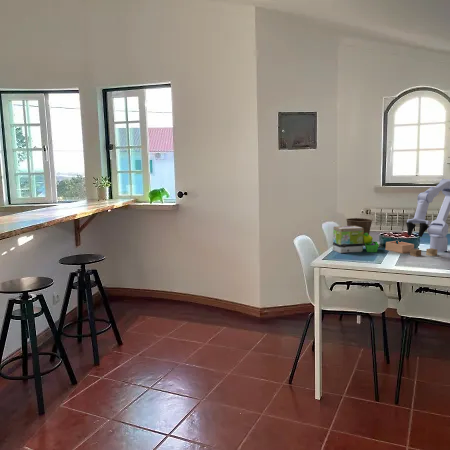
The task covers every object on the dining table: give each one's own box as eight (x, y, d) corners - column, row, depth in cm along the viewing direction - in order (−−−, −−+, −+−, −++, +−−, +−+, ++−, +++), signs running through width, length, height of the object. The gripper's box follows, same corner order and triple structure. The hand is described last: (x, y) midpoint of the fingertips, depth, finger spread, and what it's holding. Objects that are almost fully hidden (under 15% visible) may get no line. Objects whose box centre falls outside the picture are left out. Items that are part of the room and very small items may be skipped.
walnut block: (415, 255, 263) (415, 248, 262) (421, 257, 259) (421, 250, 259) (410, 256, 261) (410, 249, 261) (415, 257, 258) (416, 250, 257)
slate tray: (398, 248, 283) (398, 247, 283) (420, 253, 268) (421, 252, 268) (383, 250, 278) (383, 249, 278) (405, 255, 263) (405, 254, 263)
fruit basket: (379, 253, 269) (379, 234, 268) (363, 253, 271) (363, 234, 270) (376, 249, 280) (377, 231, 279) (361, 249, 282) (362, 231, 281)
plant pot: (368, 242, 306) (369, 217, 303) (374, 246, 290) (375, 221, 287) (343, 241, 307) (344, 217, 305) (347, 246, 291) (348, 221, 289)
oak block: (431, 255, 264) (431, 248, 263) (437, 256, 260) (437, 249, 260) (426, 255, 262) (426, 249, 262) (431, 257, 259) (432, 250, 258)
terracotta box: (397, 248, 281) (397, 240, 281) (413, 252, 270) (414, 244, 269) (385, 249, 278) (385, 242, 277) (402, 253, 266) (402, 245, 265)
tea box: (340, 253, 271) (341, 228, 269) (332, 250, 281) (332, 226, 278) (363, 251, 275) (364, 227, 273) (354, 248, 285) (355, 225, 282)
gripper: (405, 210, 265) (399, 232, 264) (426, 211, 252) (419, 234, 251) (414, 214, 268) (408, 236, 267) (435, 215, 255) (428, 238, 254)
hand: (414, 235), depth 259 cm, fingers open, 7 cm apart
